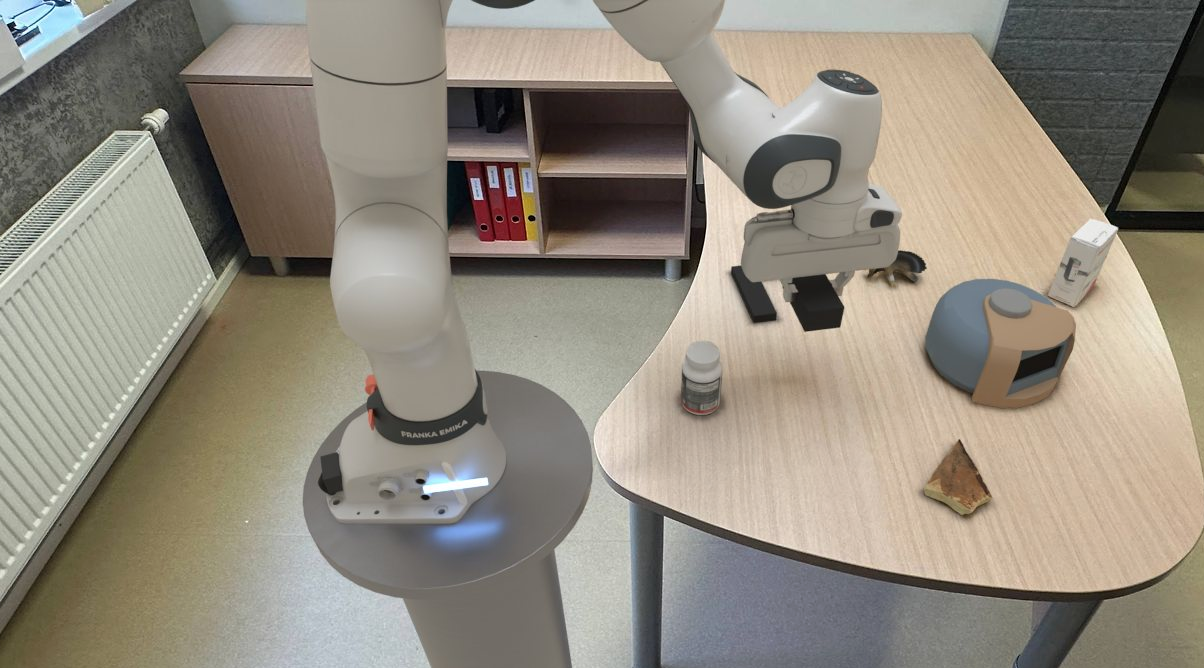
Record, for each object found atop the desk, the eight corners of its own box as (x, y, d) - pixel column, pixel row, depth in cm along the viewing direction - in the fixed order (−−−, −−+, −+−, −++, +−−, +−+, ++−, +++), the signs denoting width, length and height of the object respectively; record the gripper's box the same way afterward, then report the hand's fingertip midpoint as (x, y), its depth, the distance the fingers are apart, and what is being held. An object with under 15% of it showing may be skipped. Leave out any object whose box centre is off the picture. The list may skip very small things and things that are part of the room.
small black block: (804, 332, 103) (807, 311, 101) (782, 287, 110) (784, 266, 108) (840, 327, 104) (844, 306, 101) (816, 283, 111) (819, 262, 108)
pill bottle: (688, 385, 117) (690, 334, 110) (724, 394, 115) (729, 343, 108) (675, 411, 113) (676, 359, 106) (713, 420, 111) (717, 369, 105)
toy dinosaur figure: (876, 292, 132) (929, 282, 131) (870, 250, 131) (924, 239, 130) (866, 288, 139) (916, 279, 139) (860, 248, 138) (911, 239, 138)
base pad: (753, 323, 127) (754, 315, 126) (730, 273, 137) (731, 266, 136) (834, 312, 130) (836, 305, 129) (806, 264, 140) (807, 257, 138)
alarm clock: (984, 423, 112) (1011, 360, 103) (897, 340, 125) (914, 278, 116) (1082, 384, 118) (1115, 321, 109) (989, 309, 131) (1012, 248, 122)
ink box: (1065, 274, 138) (1091, 215, 130) (1094, 286, 136) (1122, 227, 128) (1044, 296, 134) (1070, 236, 125) (1073, 308, 131) (1101, 249, 123)
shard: (956, 445, 109) (959, 436, 107) (1009, 473, 105) (1014, 464, 104) (920, 492, 102) (923, 483, 101) (975, 523, 99) (979, 515, 98)
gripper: (752, 228, 92) (743, 320, 102) (914, 212, 95) (891, 302, 105) (738, 201, 97) (731, 291, 107) (894, 186, 100) (873, 274, 109)
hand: (812, 296), depth 106 cm, fingers closed on small black block, 5 cm apart
